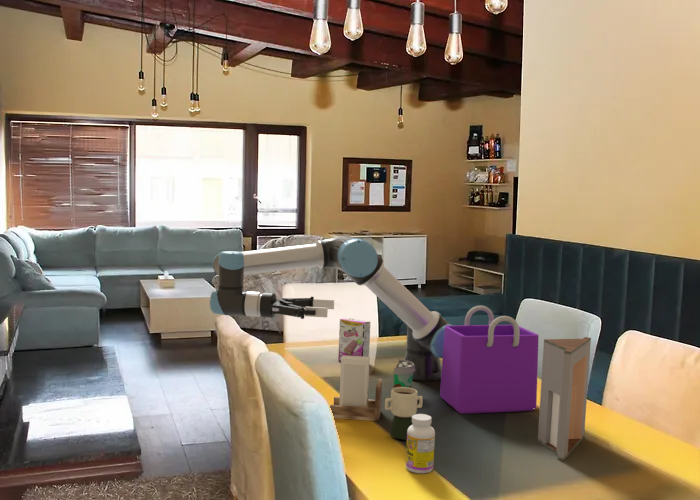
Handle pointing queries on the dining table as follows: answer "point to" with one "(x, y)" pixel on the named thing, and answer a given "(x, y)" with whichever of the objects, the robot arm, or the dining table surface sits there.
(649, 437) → the dining table surface
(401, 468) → the dining table surface
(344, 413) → the wooden holder
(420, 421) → the supplement bottle
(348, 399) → the white rectangular box
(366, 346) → the candy bar box
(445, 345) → the shopping bag
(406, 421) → the character mug
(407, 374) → the food container
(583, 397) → the grey tall angular block
